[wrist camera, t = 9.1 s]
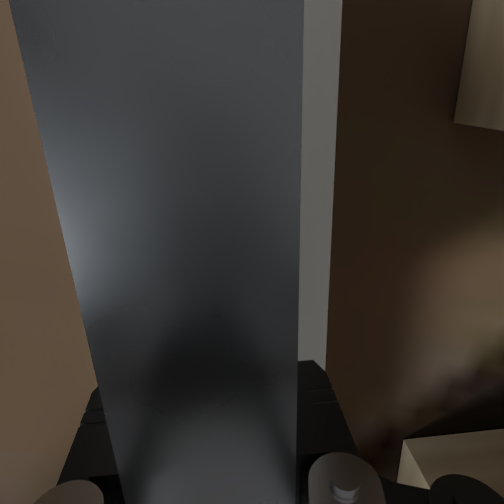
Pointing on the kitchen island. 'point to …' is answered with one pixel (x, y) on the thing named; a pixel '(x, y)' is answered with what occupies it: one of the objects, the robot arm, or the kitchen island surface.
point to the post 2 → (483, 68)
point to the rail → (180, 229)
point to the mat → (317, 171)
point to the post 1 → (454, 458)
